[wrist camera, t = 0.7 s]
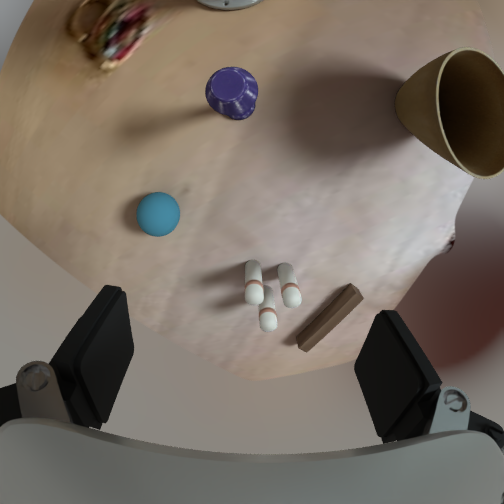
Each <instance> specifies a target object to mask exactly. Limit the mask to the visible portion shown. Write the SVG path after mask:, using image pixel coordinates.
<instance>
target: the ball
mask: <svg viewBox="0 0 504 504" xmlns="http://www.w3.org/2000/svg"><path fill="white" fill-rule="evenodd" d="M179 218H180V209H179V206H178V204H177V202H176V201H175V199H174V198H173V197H171V196H170V195H168V194H166V193H163V192H155V193H151V194H149V195H147V196H146V197H144V198H143V199H142V201H141V202H140V204H139V206H138V208H137V221H138V224H139V226H140V228H141V229H142V230H143V231H144V232H145V233H147V234H149V235H151V236H157V237H159V236H164V235H167V234H169V233H170V232H172V231H173V230H174V229H175V227H176V226H177V224H178V222H179Z"/></svg>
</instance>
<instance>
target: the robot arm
mask: <svg viewBox="0 0 504 504" xmlns="http://www.w3.org/2000/svg"><path fill="white" fill-rule="evenodd" d="M197 1H198V2H200V3H201V4H203V5H205V6H208V7H211V8H215V9H221V10H236V9H243V8H247V7H251V6H253V5H256V4H258V3H260V2H261V1H263V0H197ZM226 4H228V5H227V6H225V5H226ZM133 353H134V343H133V338H132V332H131V326H130V319H129V312H128V305H127V298H126V293H125V292H124V291H122V289H121V287H117V286H111V285H105V286H104V287H103V288H102V290H101V291H100V292H99V294H98V295H97V296H96V298H95V299H94V300H93V302H92V303H91V305H90V306H89V307H88V309H87V310H86V311H85V313H84V314H83V316H82V317H80V318H79V319H78V321H77V322H76V324H75V325H74V327H73V328H72V329H71V331H70V332H69V334H68V335H67V337H66V338H65V340H64V341H63V343H62V344H61V346H60V347H59V349H58V350H57V352H56V353H55V355H54V356H53V358H52V359H51V361H50V363H49V364H48V363H46V362H43V361H32V362H30V363H27V364H25V365H24V366H23V367H21V369H20V370H19V371H18V374H17V376H16V383H15V384H12V385H9V386H5V387H2V388H0V504H504V431H503V429H502V427H501V426H500V425H498V424H497V423H495V422H493V421H491V420H489V419H487V418H485V417H483V416H481V415H478V414H476V413H474V412H472V411H470V400H469V398H468V396H467V395H466V394H465V393H464V392H463V391H462V390H460V389H459V388H456V387H451V386H450V387H445V388H444V389H442V390H441V389H440V385H441V384H442V381H441V380H440V378H439V376H438V374H437V373H436V371H435V370H434V368H433V366H432V365H431V363H430V361H429V360H428V358H427V357H426V355H425V353H424V352H423V350H422V349H421V347H420V346H419V344H418V343H417V341H416V339H415V338H414V336H413V335H412V333H411V332H410V330H409V329H408V327H407V326H406V324H405V323H404V321H403V320H402V318H401V317H400V315H399V314H398V313H397V311H395V310H382V311H381V312H380V313H379V314H377V315H376V316H375V319H374V321H373V323H372V326H371V328H370V331H369V333H368V335H367V338H366V340H365V342H364V345H363V347H362V349H361V351H360V353H359V356H358V358H357V360H356V362H355V366H354V370H355V373H356V376H357V379H358V381H359V384H360V387H361V389H362V392H363V395H364V398H365V401H366V404H367V406H368V409H369V412H370V415H371V418H372V421H373V424H374V426H375V430H376V432H377V435H378V436H379V437H381V438H382V441H383V444H381V445H375V446H369V447H363V448H356V449H348V450H340V451H331V452H320V453H304V454H271V455H270V454H237V453H222V452H210V451H201V450H192V449H185V448H178V447H172V446H166V445H159V444H155V443H149V442H144V441H140V440H135V439H130V438H126V437H122V436H118V435H114V434H109V433H106V432H102V431H99V430H100V428H101V426H102V423H106V422H107V421H108V419H109V416H110V413H111V410H112V407H113V404H114V402H115V399H116V397H117V394H118V391H119V389H120V386H121V384H122V381H123V378H124V376H125V374H126V371H127V369H128V366H129V364H130V361H131V359H132V356H133ZM89 426H90V427H93V428H96V429H99V430H95V429H91V428H89ZM396 440H397V441H396ZM394 441H396V442H394ZM389 442H391V443H389ZM384 443H386V444H384Z"/></svg>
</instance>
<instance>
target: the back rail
mask: <svg viewBox="0 0 504 504" xmlns="http://www.w3.org/2000/svg"><path fill="white" fill-rule="evenodd" d="M363 299H364V298H363V296H362V295H361V293H360V291H359V289H358V288H356V287H355V286H354V285H352V284H351V283H350V284H349V285H348V286H347V288H346V289H345V290H344V291H343V292H342V293H341V294H340V295H339V296H338V297H337V298H336V299H335V300H334V301H333V302H332V303H331V304H330V305H329V306H328V307H327V308H326V309H325V310H324V311H323V312H322V313H321V314H320V315H319V316H318V317H317V318H316V319H315V320H314V321H313V322H312V323H311V324H310V325H309V326H308V327H306V328H305V329H304V330H303V331H302V332H301V333H300V334H299V335H298V336H297V337H296V339H297V343H298V348H299V349H301V350H303V351H305V352H308V351H309V350H310V349H311V348H313V347H314V346H315V345H316V344H317V343H318V342H319V341H320V340H321V339H323V338H324V337H325V336H326V335H327V334H328V333H329V332H330V331H331V330H332V329H333V328H334V327H335V326H336V325H338V324H339V323H340V322H341V321H342V320H343V319H344V318H345V317H346V316H347V315H348V314H349V313H350V312H351V311H352V310H353V309H354V308H355V307H356V306H357V305H358V304H359V303H360V302H361V301H362V300H363Z"/></svg>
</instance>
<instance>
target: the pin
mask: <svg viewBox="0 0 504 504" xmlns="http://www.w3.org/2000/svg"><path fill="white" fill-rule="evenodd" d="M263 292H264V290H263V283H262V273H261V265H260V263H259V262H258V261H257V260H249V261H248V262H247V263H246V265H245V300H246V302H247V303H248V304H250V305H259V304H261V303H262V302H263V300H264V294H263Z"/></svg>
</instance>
